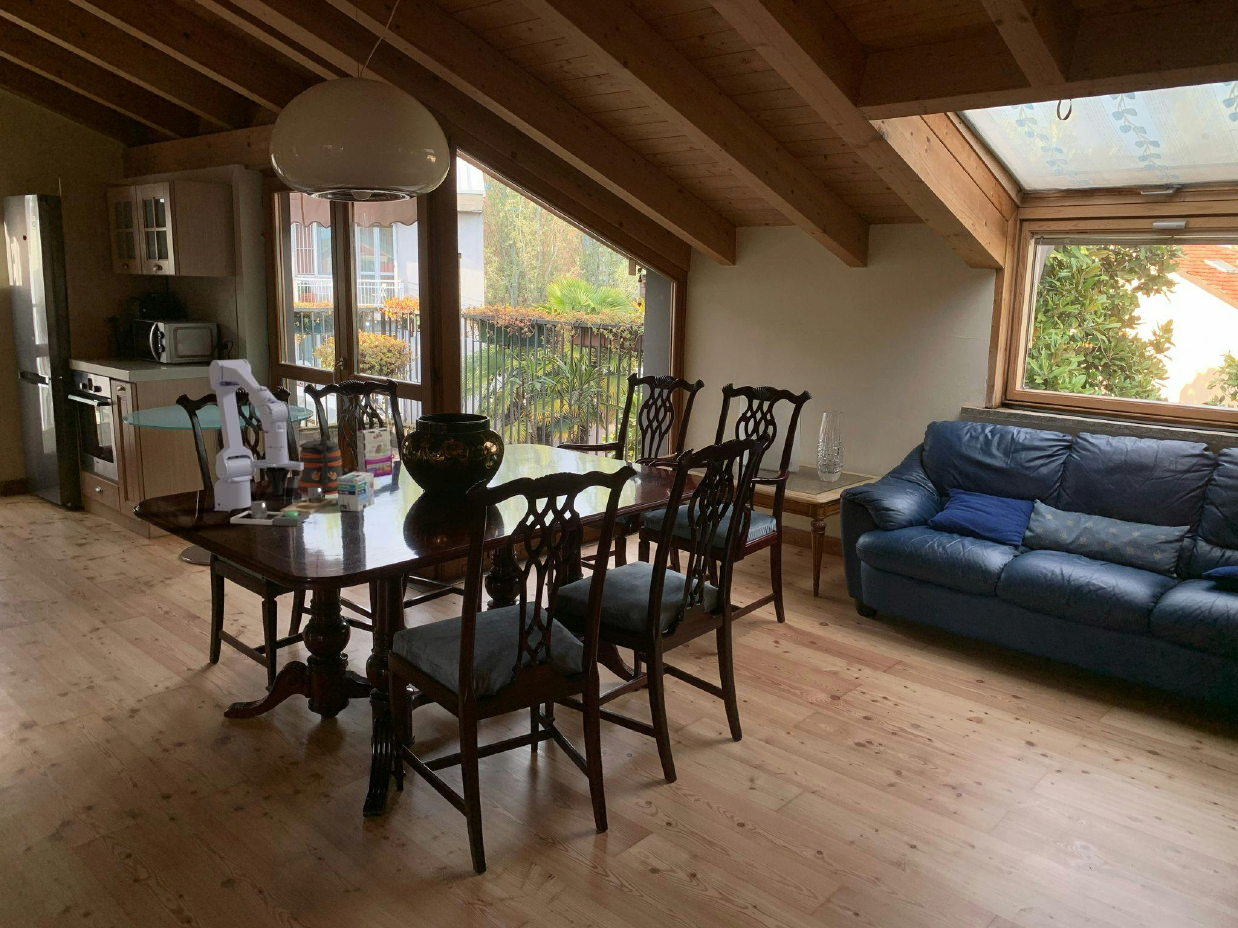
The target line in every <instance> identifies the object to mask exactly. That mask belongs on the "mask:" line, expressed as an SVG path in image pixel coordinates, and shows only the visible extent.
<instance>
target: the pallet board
mask: <svg viewBox="0 0 1238 928" xmlns="http://www.w3.org/2000/svg"><path fill="white" fill-rule="evenodd" d="M322 498H323V503H309V500H308V496H306V497H305V498H303V499H301V500H298V501H296V502H295V503H292V504H289V505H288V506H286V507H284V508H281V509H280V511H279V512H280V513H284V512H287V511H297V512H298V513H309V516H312V515H314V514H316V513H317V512H319V511H321V510H323V509H325V508H327V507H329V506H331V505H333V504H335V503H336V502H337V501H336V498H335V497H334V498H332V497H322Z"/></svg>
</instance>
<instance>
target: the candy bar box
mask: <svg viewBox="0 0 1238 928" xmlns="http://www.w3.org/2000/svg"><path fill="white" fill-rule="evenodd" d="M356 442H357V444H356V446H357V448H356V449H357V463H358V466H357V467H358V472H365V473H374V478H378V477H383V476H385V477H386V476H390V475H393V456H392V455H393V452H392V432H391V428H389V427H379V428H370V429H363V430H356Z"/></svg>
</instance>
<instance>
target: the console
mask: <svg viewBox="0 0 1238 928" xmlns="http://www.w3.org/2000/svg"><path fill="white" fill-rule="evenodd" d="M284 513H285V512H284ZM284 513H282V514H280V515H276V516H274V517H273V518H272V519H273V521H274V524H273V526H283V527H285V526H286V527H299V526H302V525H303V524H305V523H306V522H307V520H308V519H310V515H309V513H298V517H296V518H291V517H285V515H284Z"/></svg>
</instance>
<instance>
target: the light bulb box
mask: <svg viewBox="0 0 1238 928" xmlns="http://www.w3.org/2000/svg"><path fill="white" fill-rule="evenodd" d="M337 483H338V493H337V501H338V502H337V503H338V504H337V505H338V507H337V508H338V511H349V512H360V511H362V510H364V509H367V508H369V507H370V506H373V505H374V504H375V477H374V473H365V472H359V471H352V472H349V473H347V474H344V475H342V477H339V478H337Z"/></svg>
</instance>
